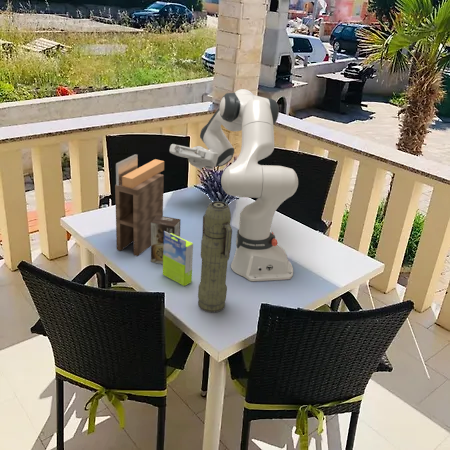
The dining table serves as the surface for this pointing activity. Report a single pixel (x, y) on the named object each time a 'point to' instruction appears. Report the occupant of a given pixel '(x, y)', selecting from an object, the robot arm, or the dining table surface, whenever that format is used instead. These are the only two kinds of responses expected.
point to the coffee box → (162, 235)
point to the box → (177, 258)
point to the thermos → (215, 257)
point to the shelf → (138, 212)
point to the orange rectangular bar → (142, 173)
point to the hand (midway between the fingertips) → (186, 149)
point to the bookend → (125, 167)
